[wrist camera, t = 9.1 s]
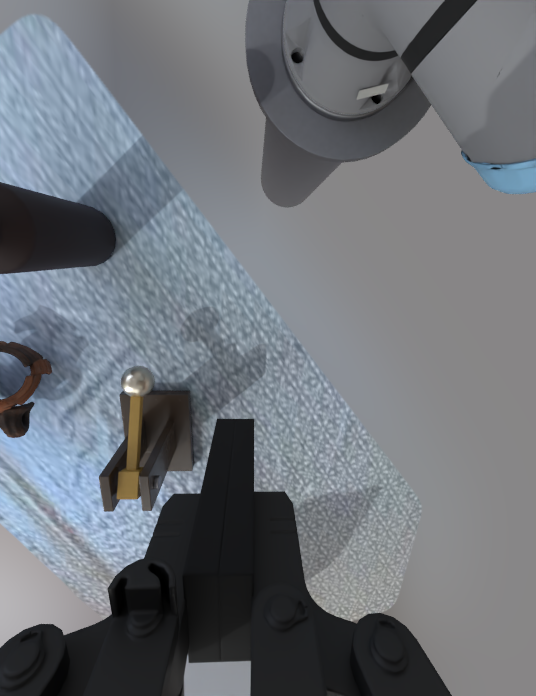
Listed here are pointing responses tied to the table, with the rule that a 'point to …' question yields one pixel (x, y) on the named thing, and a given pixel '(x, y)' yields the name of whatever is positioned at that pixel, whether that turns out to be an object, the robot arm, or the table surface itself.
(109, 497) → the dark grey lever stand
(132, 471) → the tap lever
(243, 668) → the milk
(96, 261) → the bottle
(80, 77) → the table surface
